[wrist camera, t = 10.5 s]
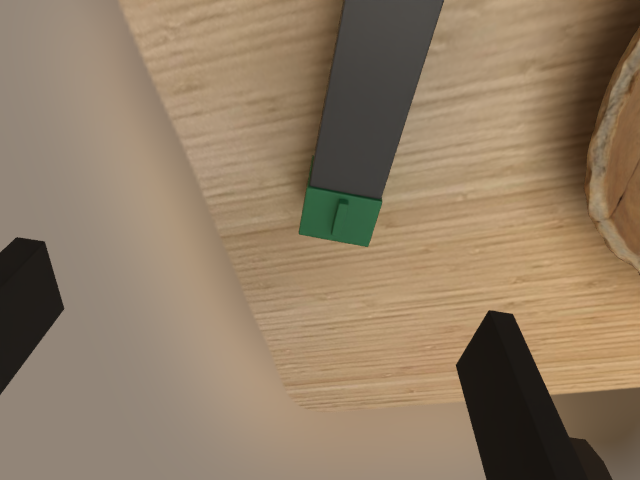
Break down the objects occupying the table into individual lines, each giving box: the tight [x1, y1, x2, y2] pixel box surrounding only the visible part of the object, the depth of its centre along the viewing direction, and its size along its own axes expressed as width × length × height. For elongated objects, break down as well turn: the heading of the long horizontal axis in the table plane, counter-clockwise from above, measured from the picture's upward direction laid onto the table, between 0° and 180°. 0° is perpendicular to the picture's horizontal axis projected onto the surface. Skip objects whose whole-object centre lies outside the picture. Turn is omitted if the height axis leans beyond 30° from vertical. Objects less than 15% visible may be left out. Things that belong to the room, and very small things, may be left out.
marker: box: [299, 0, 444, 247], centre depth 24 cm, size 15×5×5 cm, turn 169°
